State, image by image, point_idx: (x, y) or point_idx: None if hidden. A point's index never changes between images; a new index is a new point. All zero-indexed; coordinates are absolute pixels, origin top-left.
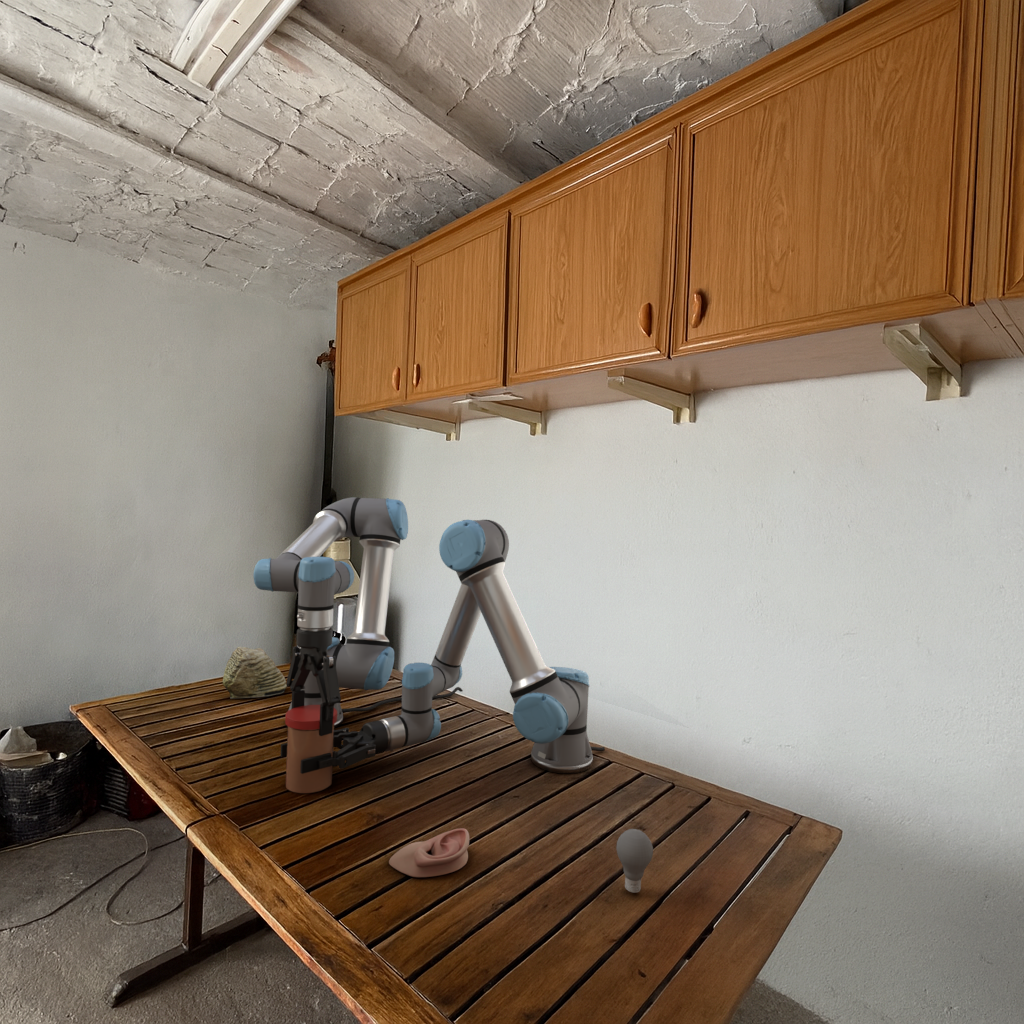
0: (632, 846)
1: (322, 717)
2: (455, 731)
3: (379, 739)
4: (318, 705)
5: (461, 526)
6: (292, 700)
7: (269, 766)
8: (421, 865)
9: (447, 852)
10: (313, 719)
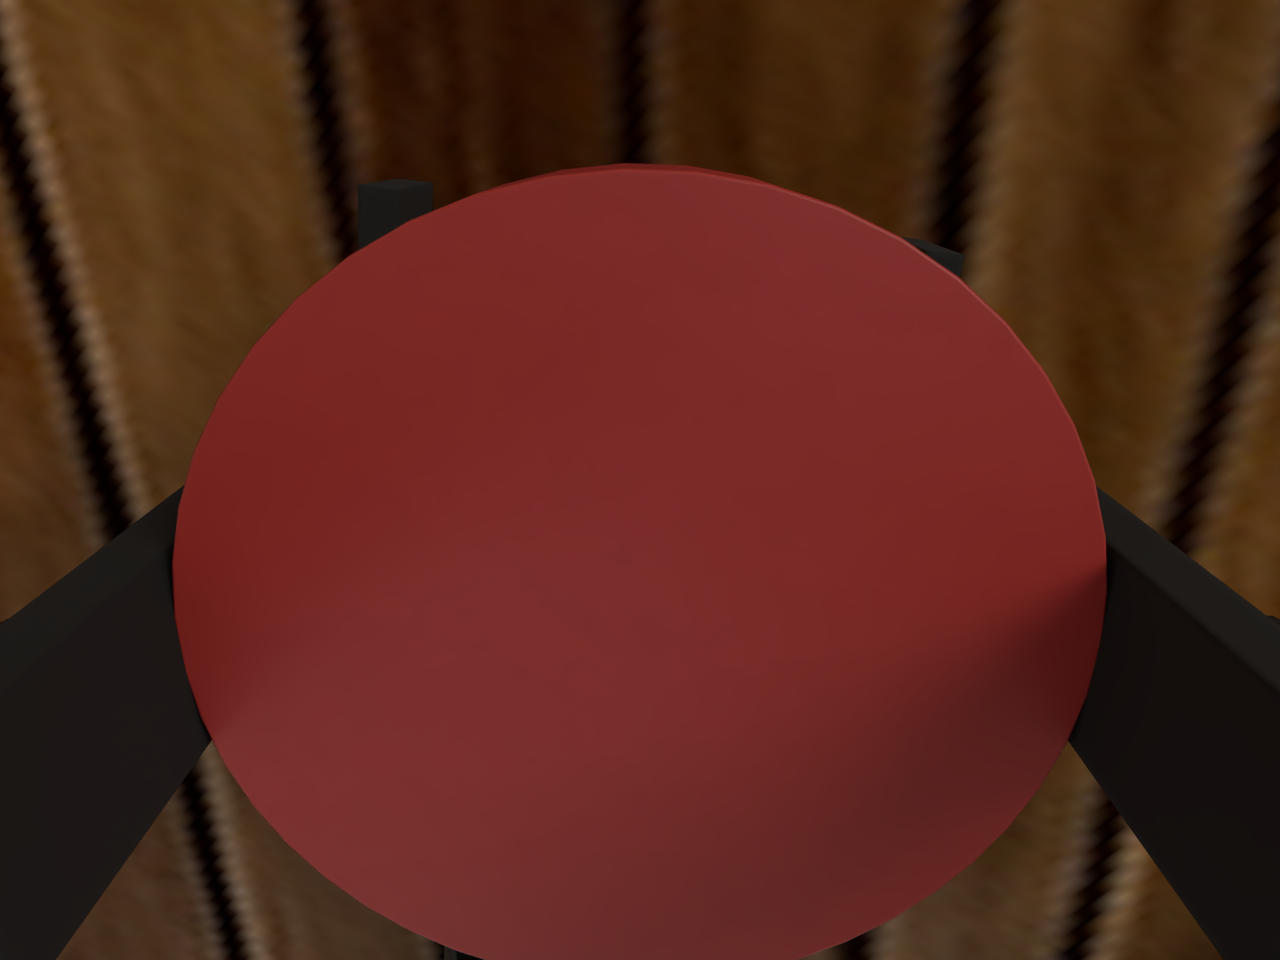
0: None
1: (48, 605)
2: None
3: (445, 950)
4: (884, 892)
5: None
6: (1257, 629)
7: (1133, 280)
8: None
9: None
10: (280, 506)
